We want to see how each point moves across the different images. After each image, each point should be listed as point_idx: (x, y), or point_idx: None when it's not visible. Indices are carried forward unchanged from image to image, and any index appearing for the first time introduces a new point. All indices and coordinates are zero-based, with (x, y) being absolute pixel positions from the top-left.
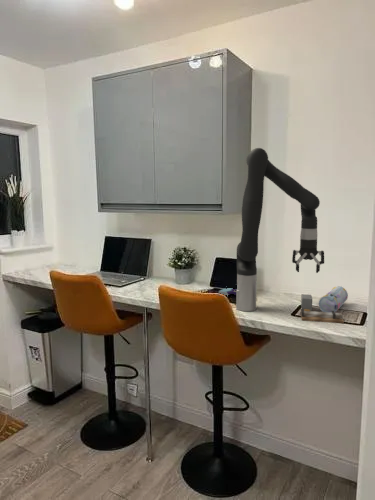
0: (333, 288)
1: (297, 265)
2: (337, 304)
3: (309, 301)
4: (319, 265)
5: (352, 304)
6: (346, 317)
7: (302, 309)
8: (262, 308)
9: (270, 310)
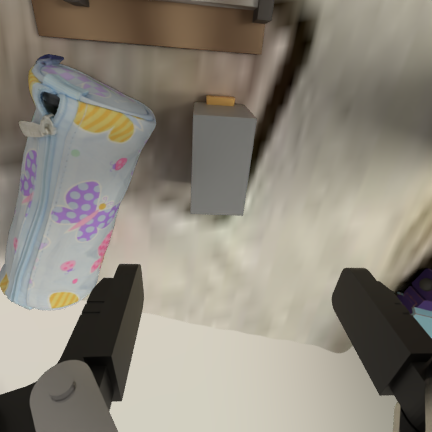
0: (67, 298)
1: (417, 344)
2: (33, 66)
3: (210, 113)
4: (66, 360)
5: None
6: (9, 23)
7: (264, 9)
8: (423, 129)
9: (397, 100)
